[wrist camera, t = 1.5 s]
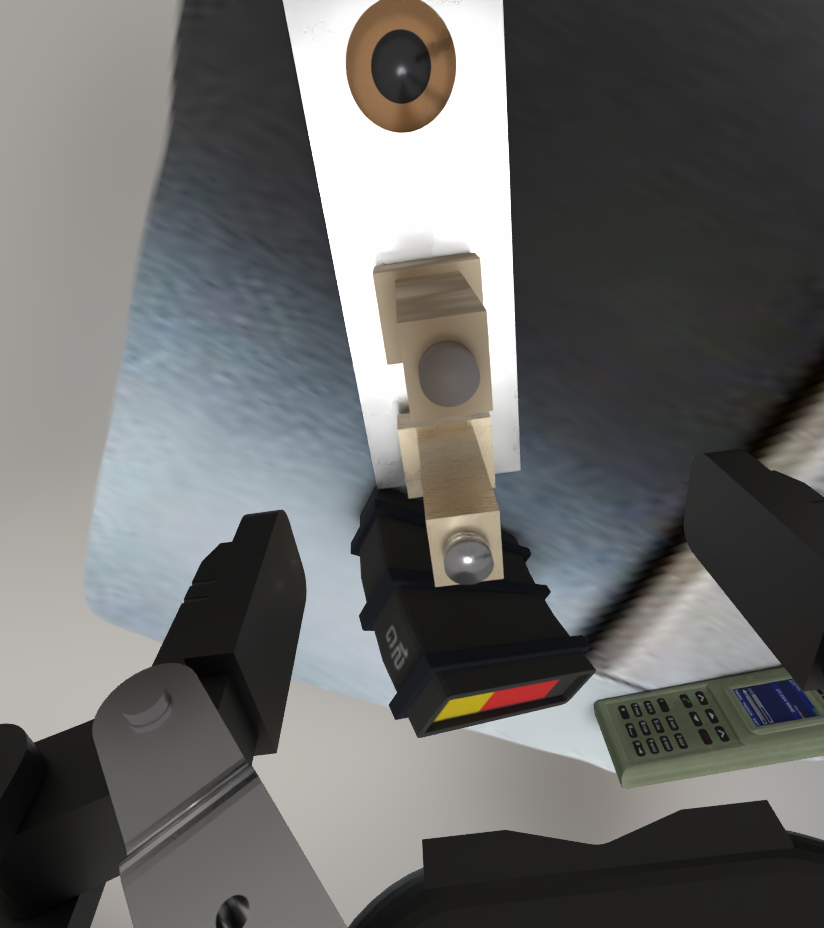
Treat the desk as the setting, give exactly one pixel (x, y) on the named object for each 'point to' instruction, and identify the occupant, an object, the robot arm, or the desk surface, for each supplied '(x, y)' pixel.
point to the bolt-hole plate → (418, 231)
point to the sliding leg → (437, 333)
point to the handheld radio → (711, 727)
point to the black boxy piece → (459, 628)
